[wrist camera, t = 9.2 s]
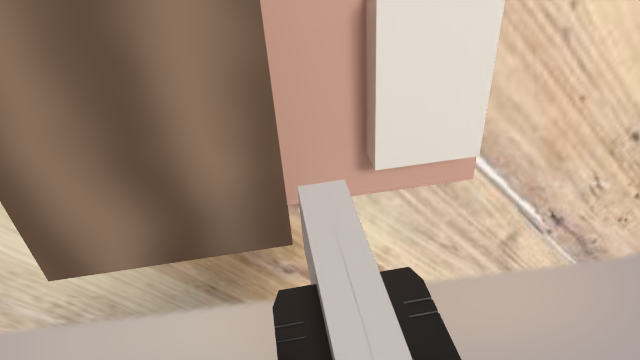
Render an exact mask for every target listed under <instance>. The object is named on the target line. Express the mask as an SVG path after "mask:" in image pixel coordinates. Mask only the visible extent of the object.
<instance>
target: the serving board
mask: <svg viewBox="0 0 640 360" xmlns="http://www.w3.org/2000/svg"><path fill="white" fill-rule="evenodd" d="M0 202H1V203H2V205H3V207H4V208H5V210H6V212H7V213H8V215H9V217H10V218H11V220H12V222H13V223H14V225H15V227H16V228H17V230H18V232H19V233H20V235H21V237H22V238H23V240H24V242H25V243H26V245H27V247H28V248H29V250H30V252H31V253H32V255H33V257H34V258H35V260H36V261H37V263H38V265H39V266H40V268H41V270H42V271H43V273H44V275H45V276H46V278H47V280H48V281H54V280H61V279H67V278H74V277H81V276H87V275H94V274H101V273H107V272H114V271H121V270H127V269H134V268H141V267H147V266H154V265H161V264H167V263H174V262H181V261H187V260H194V259H201V258H207V257H214V256H221V255H227V254H234V253H241V252H247V251H254V250H261V249H267V248H274V247H281V246H288V245H293V243H292V235H291V228H290V220H289V213H288V205H287V198H286V190H285V183H284V176H283V168H282V161H281V153H280V146H279V138H278V131H277V123H276V116H275V108H274V101H273V93H272V86H271V79H270V71H269V64H268V56H267V49H266V41H265V34H264V26H263V19H262V11H261V4H260V0H0Z"/></svg>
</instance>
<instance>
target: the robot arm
mask: <svg viewBox="0 0 640 360" xmlns="http://www.w3.org/2000/svg"><path fill="white" fill-rule="evenodd" d="M297 189H298V197H299V206H300V215H301V224H302V233H303V241H304V250H305V255H306V260H307V265H308V270H309V275H310V280H311V285H307V286H302V287H296V288H290V289H284V290H279V292H278V294H277V297H276V300H275V303H274V305H273V316H274V326H275V336H276V345H277V356H278V360H461V358H460V356H459V354H458V352H457V350H456V348H455V346H454V343H453V341H452V339H451V337H450V335H449V333H448V331H447V329H446V327H445V324H444V322H443V320H442V319H441V316H440V314H439V313H438V310H437V308H436V306H435V304H434V302H433V300H432V299H431V296H430V293H429V291H428V289H427V287H426V285H425V283H424V280H423V279H422V278H421V277H420V276H418V275H417V274H416V273H415V272H414V271H413V270H412V269H411V268H410V267H405V268H399V269H394V270H388V271H382V272H379V269H378V267H377V264H376V261H375V259H374V256H373V254H372V251H371V248H370V246H369V243H368V240H367V238H366V235H365V232H364V230H363V227H362V224H361V222H360V219H359V216H358V214H357V211H356V208H355V206H354V203H353V200H352V198H351V195H350V192H349V190H348V187H347V185H346V182H345V179H343V180H336V181H330V182H323V183H316V184H310V185H303V186H297Z"/></svg>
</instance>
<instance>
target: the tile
mask: <svg viewBox="0 0 640 360" xmlns="http://www.w3.org/2000/svg"><path fill="white" fill-rule="evenodd" d="M504 4H505V0H366V110H367V154H368V156H369V158H370V160H371V163H372V165H373V167H374V169H375V170H382V169H389V168H397V167H404V166H411V165H418V164H426V163H433V162H440V161H447V160H454V159H462V158H469V157H476V156H479V154H480V148H481V142H482V136H483V130H484V124H485V118H486V112H487V106H488V100H489V94H490V88H491V82H492V76H493V70H494V64H495V58H496V52H497V46H498V40H499V34H500V28H501V22H502V16H503V10H504Z"/></svg>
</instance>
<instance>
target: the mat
mask: <svg viewBox="0 0 640 360" xmlns="http://www.w3.org/2000/svg"><path fill="white" fill-rule="evenodd" d="M260 4H261V11H262V19H263V26H264V34H265V41H266V49H267V56H268V64H269V71H270V79H271V86H272V93H273V101H274V108H275V116H276V123H277V131H278V138H279V146H280V153H281V161H282V168H283V176H284V183H285V190H286V198H287V205H292V204H299V197H298V189H297V186H303V185H310V184H316V183H323V182H330V181H336V180H343V179H345V182H346V185H347V187H348V190H349V192H350V195H351V196H355V195H362V194H369V193H376V192H383V191H391V190H398V189H405V188H412V187H419V186H426V185H433V184H440V183H447V182H454V181H461V180H468V179H473V174H474V168H475V162H476V157H469V158H462V159H454V160H447V161H440V162H433V163H426V164H418V165H411V166H404V167H397V168H389V169H382V170H375V169H374V167H373V165H372V163H371V160H370V158H369V156H368V154H367V110H366V0H260Z"/></svg>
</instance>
